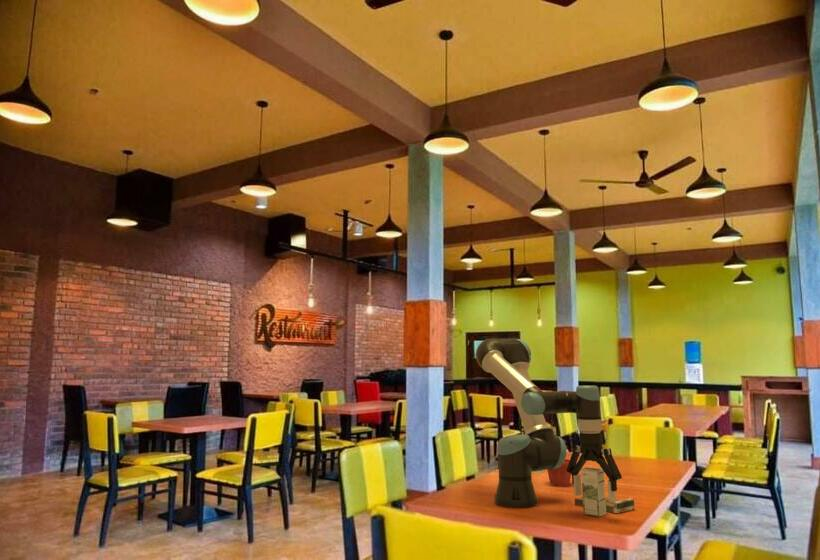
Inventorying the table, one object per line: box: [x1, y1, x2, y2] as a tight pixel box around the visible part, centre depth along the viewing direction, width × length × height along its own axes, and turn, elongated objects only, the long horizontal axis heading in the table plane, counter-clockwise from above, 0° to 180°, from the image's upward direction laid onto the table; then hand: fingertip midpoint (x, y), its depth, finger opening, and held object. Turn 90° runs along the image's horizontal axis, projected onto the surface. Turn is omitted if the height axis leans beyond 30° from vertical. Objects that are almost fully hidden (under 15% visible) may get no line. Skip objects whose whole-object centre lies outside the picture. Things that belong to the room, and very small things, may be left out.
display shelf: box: [574, 496, 636, 514], centre depth 202 cm, size 10×17×4 cm, turn 36°
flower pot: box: [547, 458, 572, 487], centre depth 242 cm, size 11×11×10 cm
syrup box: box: [580, 467, 607, 518], centre depth 193 cm, size 6×6×14 cm
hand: (594, 498), depth 193 cm, fingers open, 13 cm apart
